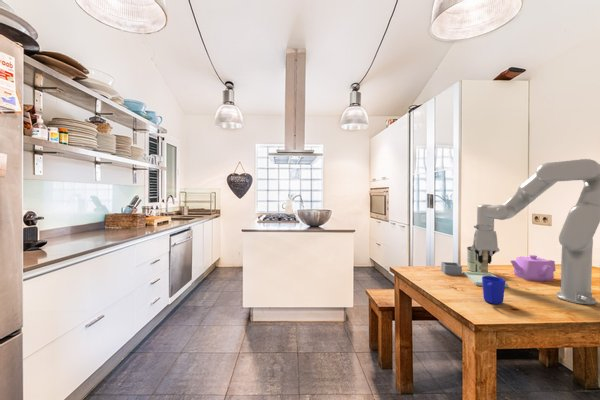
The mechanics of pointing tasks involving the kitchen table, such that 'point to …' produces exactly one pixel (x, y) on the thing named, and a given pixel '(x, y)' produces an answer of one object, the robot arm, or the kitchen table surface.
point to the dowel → (484, 261)
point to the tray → (479, 277)
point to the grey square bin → (451, 268)
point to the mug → (493, 289)
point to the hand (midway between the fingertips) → (484, 262)
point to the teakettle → (534, 268)
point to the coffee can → (473, 261)
